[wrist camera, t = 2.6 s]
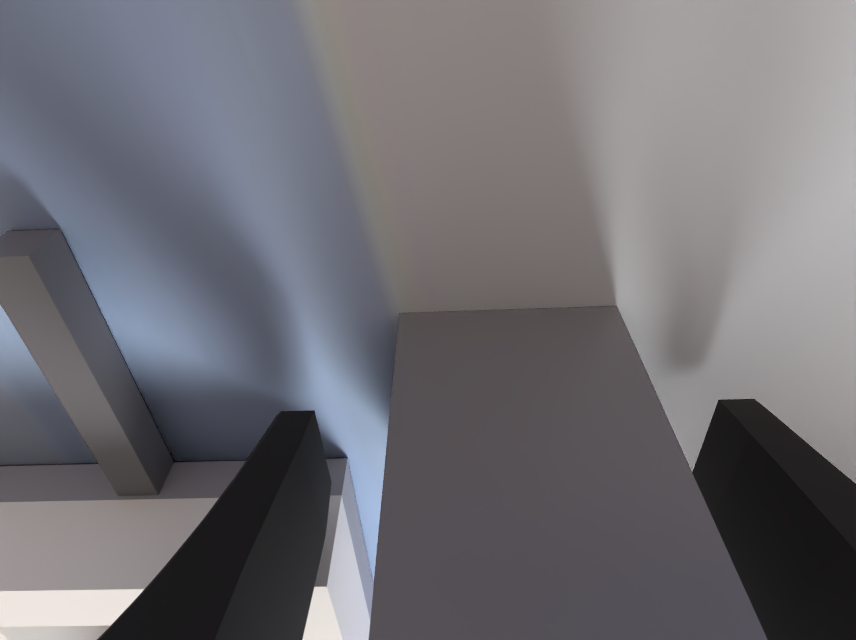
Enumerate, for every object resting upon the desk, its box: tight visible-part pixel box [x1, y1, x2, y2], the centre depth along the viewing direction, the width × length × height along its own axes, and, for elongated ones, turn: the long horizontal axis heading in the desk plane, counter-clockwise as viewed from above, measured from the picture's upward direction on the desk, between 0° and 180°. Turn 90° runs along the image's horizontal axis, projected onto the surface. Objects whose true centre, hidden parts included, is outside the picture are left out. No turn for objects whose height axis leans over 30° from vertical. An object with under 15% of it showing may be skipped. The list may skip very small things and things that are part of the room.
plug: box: [369, 306, 767, 640], centre depth 9 cm, size 4×4×6 cm
